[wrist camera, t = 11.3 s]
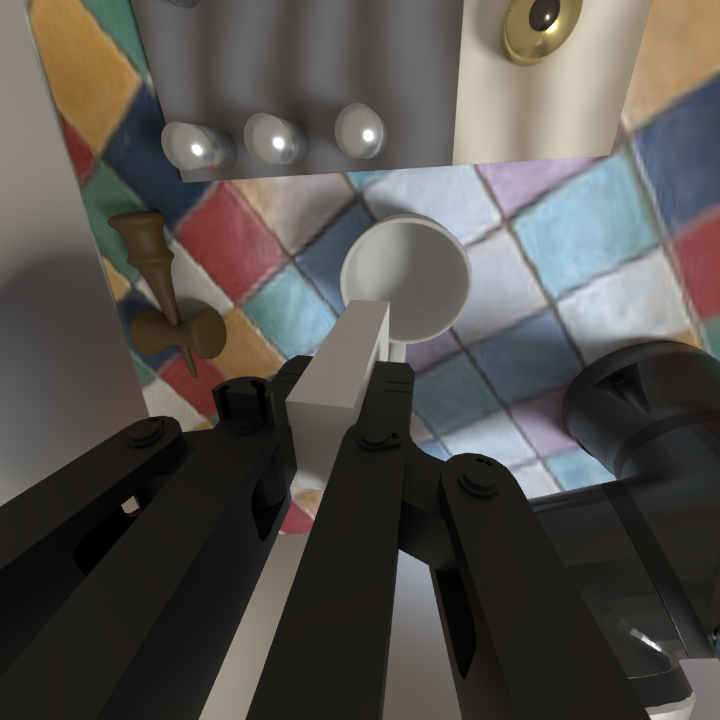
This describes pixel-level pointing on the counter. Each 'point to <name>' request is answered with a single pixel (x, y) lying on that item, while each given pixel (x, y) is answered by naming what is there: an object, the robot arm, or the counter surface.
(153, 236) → the kendama
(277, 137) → the steel spacers
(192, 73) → the board
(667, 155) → the counter surface
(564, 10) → the brass knob
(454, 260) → the teacup
